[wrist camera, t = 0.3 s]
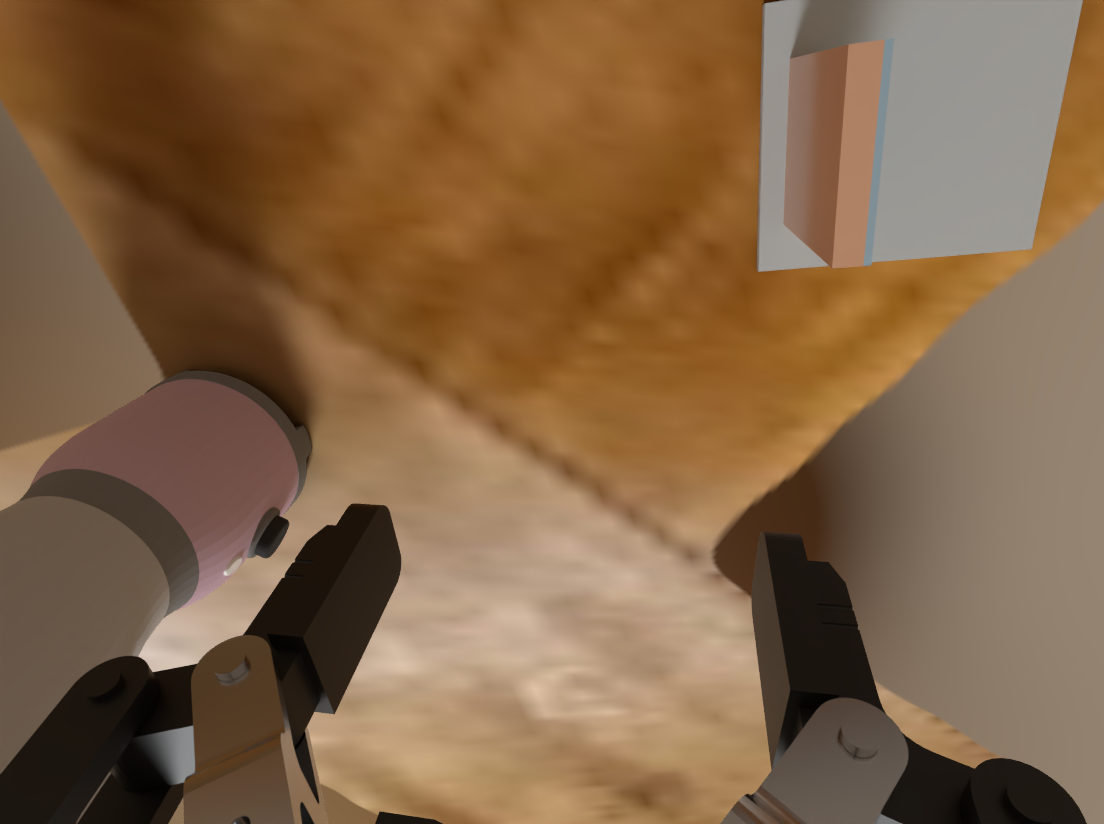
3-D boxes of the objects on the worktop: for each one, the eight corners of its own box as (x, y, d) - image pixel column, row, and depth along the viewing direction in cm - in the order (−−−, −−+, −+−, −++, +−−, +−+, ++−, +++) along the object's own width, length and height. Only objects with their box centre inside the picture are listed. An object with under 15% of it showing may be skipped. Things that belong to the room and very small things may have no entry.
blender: (139, 464, 49) (-560, 979, 20) (168, 332, 43) (-731, 783, 15) (329, 553, 50) (-73, 1146, 22) (380, 436, 45) (-66, 1023, 17)
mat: (762, 4, 31) (764, 3, 31) (1083, -43, 29) (1092, -45, 28) (756, 268, 37) (758, 271, 36) (1025, 246, 34) (1031, 249, 34)
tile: (789, 58, 32) (848, 44, 23) (821, 54, 31) (893, 38, 22) (783, 224, 35) (832, 268, 26) (812, 221, 35) (871, 265, 26)
